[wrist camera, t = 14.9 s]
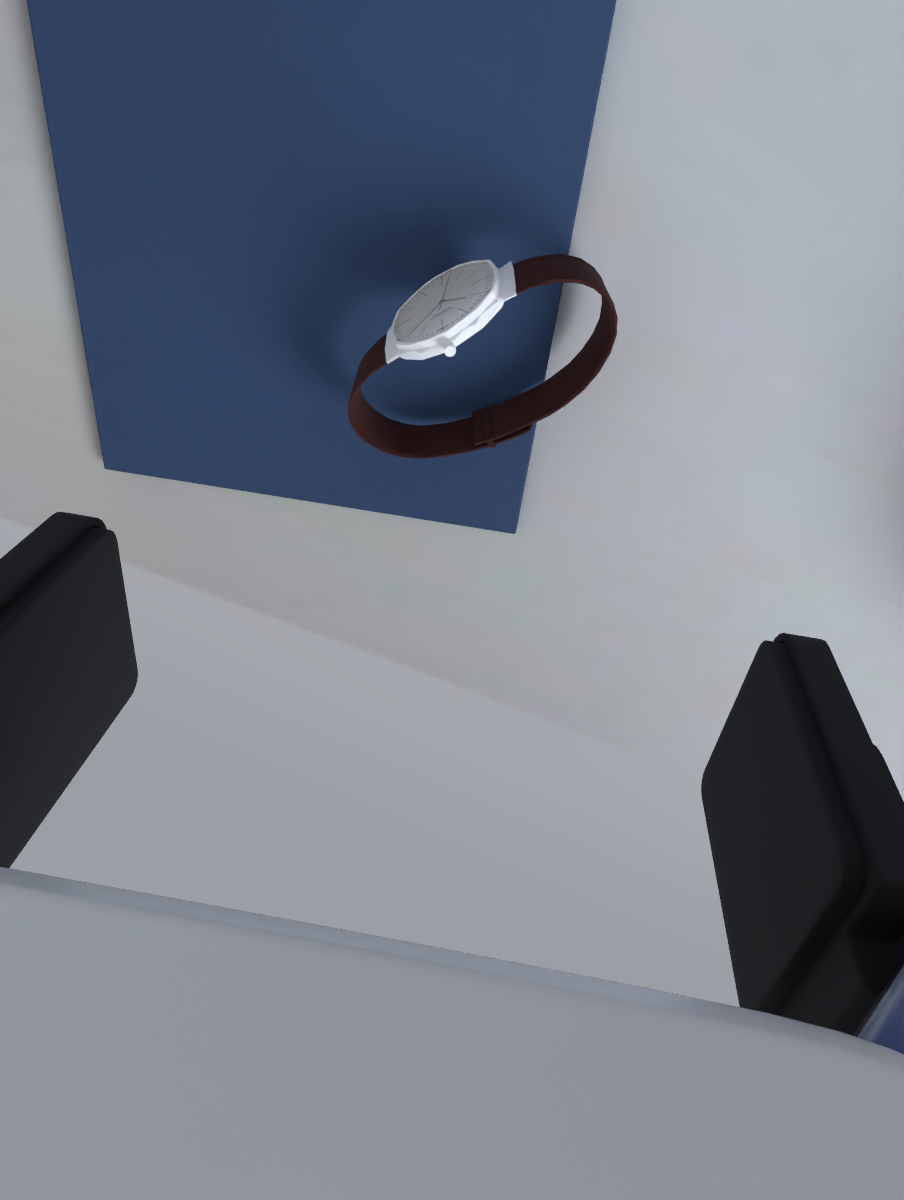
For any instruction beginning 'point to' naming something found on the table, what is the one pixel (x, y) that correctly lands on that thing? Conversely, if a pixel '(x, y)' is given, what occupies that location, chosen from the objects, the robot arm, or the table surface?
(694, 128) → the table surface
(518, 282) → the watch
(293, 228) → the mat
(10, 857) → the robot arm
